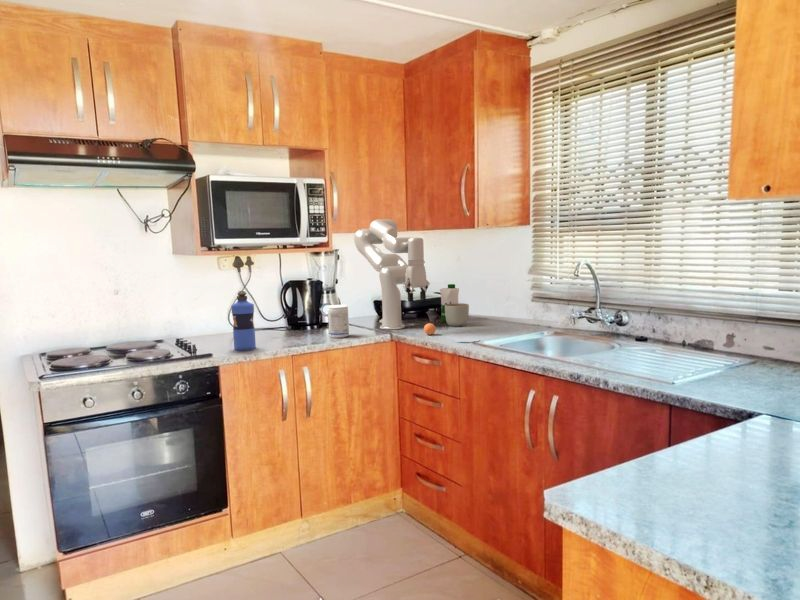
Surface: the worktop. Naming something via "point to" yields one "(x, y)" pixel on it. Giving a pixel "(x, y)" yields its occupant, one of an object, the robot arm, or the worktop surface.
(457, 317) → the planter
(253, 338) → the water bottle
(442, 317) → the milk carton
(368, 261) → the robot arm
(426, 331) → the ball
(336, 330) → the supplement tub
